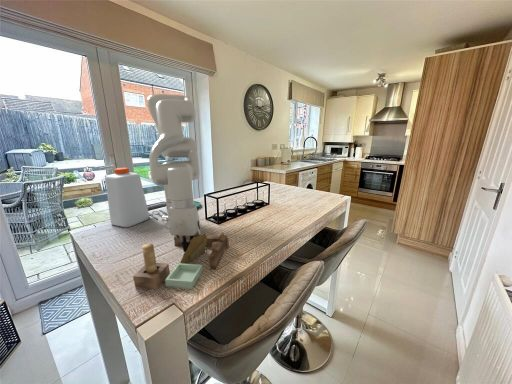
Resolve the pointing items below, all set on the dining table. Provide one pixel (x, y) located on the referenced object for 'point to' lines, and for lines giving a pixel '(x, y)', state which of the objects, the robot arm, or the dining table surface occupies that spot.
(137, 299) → the dining table surface
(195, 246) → the rock
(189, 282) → the tray
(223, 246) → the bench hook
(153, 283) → the holder
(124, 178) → the plastic bottle
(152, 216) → the cutlery set
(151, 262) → the dowel
